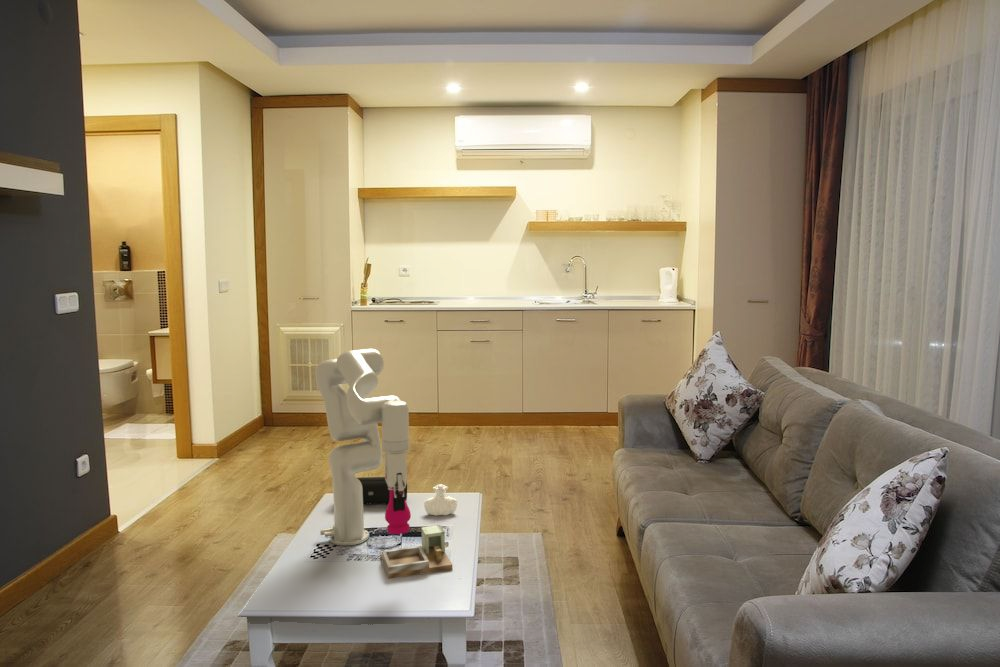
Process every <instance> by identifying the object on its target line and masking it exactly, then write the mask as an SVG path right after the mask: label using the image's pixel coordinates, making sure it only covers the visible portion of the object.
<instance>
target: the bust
mask: <svg viewBox="0 0 1000 667" xmlns="http://www.w3.org/2000/svg"><path fill="white" fill-rule="evenodd" d="M448 489H449V486H446V485H445V484H442V483H438V484H436V485H435V486H433V487H432V490H433V491H434V493H435V496H432V497H430V498H427V499H426V500H424V502H423V504H424V506H423V507H424V510H425V512H426V514H427V515H432V516H435V517H437V516H449V515H451V514H455V512H456V511H457V507H458V500H457V499H456V498H454V497H452V496H446V494H445V493H447V491H448Z"/></svg>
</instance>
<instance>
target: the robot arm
mask: <svg viewBox="0 0 1000 667" xmlns="http://www.w3.org/2000/svg"><path fill="white" fill-rule="evenodd" d="M384 362H385V361H384V358H383V356H382V354H381V353H380V351H379V350H377V349H375V348H362V349H353V350H347V351H344V352H341V353H340V355H339V356H338V357H337V358H330V359H327V360H323V361H320V362H319V363H318V364H317V365H316V368H315V374H314V375H315V376H314V377H315V383H316V385H317V389H318V390H319V392H320V395H321V397H322V400H323V402H324V403H323V404H324V408H325V414H326V421H327V426H328V427H327V428H328V432H329V436H330V438H331V440H333V441H335V442H346V441H351V440H357V439H362V442H356V443H355V442H354V443H349V444H348V443H347V444H343V445H339V446H336V447H334V448H333V449H331V451H330V452H329V455H328V463H329V468H330V469H329V470H330V473H331V478H332V479H331V480H332V494H333V518H334V519H333V520H334V522H333V524H332V526H330V527H329V528H319V530H320V531H319V532H320V536H324V537H325V538H326V537H330V538H329V541H330V542H331V543H333V544H334V545H337V546H344V547H345V546H354V545H359V544H362V543H364V542H366V541H367V540H368V539H369V538H368V537H370V533H369V531H368V530H366V529H365V525H364V524H365V521H364V519H365V518H364V517H365V516H364V515H365V514H364V504H363V487H362V484H361V482H360V481H359V480H358V479H357V478H358V477H356V475H355V474H358V473H361V472H367V471H372V470H376V469H378V468H380V467H381V466H382V464H383V458H384V477H385V475H386V473H387V475H386V477H387V479H386V477H385V480H386V483H387V485H388V487H389V488H392V487H393V489H394V497H393V510H394V511H399V510H401V511H404V510H405V496H404V487H405V486H406V482H407V483H408V481H407V477H408V476H407V475H408V474H407V453H406V452H408V451H410V414H409V413H410V412H409V404H408V403H407V402H406V401H405V400H404V401H403V400H401V398H399V396H396V395H392V394H391V395H383V396H376V397H375V396H374V397H367V396H368V395H370V394H372V392H373V391H375V390H376V388H377V387H378V384H379V383H378V382H379V378H378V376H379V375H380V374H381V373H382V371H384V370H383V369H384V365H385V363H384ZM343 384H348V386H349V387H348V389H347V391H346V390H345V389H344V387H342V386H340V385H343ZM365 397H367V398H365ZM378 424H381V437H382V438H381V437H380V430H379V425H378ZM381 442H382V443H381ZM383 453H384V454H385V455H384V457H383ZM395 484H398V486H395ZM397 488H398V490H397V491H396V489H397Z"/></svg>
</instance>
